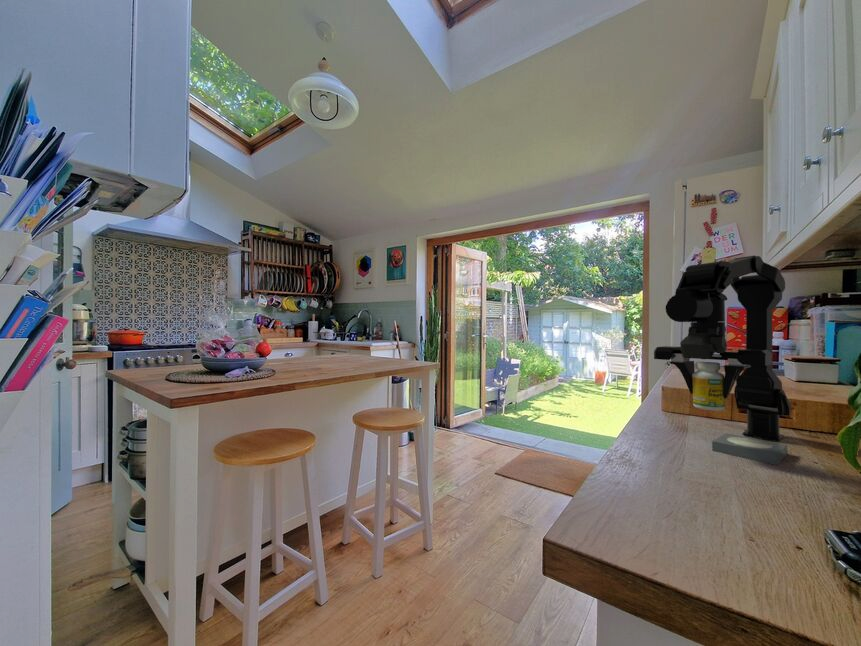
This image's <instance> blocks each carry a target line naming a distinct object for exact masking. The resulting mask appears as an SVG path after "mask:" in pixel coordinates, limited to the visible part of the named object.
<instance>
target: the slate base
mask: <svg viewBox="0 0 861 646" xmlns="http://www.w3.org/2000/svg"><path fill="white" fill-rule="evenodd" d="M711 447H712V449H711V450H712V451H714V452H719V453H723V454H727V455H732V456H735V457H739V458H744V459H748V460H752V461H756V462H757V461H758V462H762V463H765V464H771V465H773V466H774V465H775V466H778V464H780V462H781V461H782V460H783V459H784V458H786V456H787V455H788V444H786V443H780V442H776V441H771V440H766V439H761V438H755V437H750V436H745V435H739V434H733V433H727V432H726V433H724V434H722V435H721V436H718V437H717V438H714V439H713V440H712V441H711Z"/></svg>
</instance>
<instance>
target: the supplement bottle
mask: <svg viewBox="0 0 861 646" xmlns="http://www.w3.org/2000/svg"><path fill="white" fill-rule="evenodd" d="M695 369H696V370H697V371H695V372H694V373H693V375H692V380H693V394H692V404H693V407H695V408H696V409H701V410H706V411H718V412H719V411H724V410H725V409H726V398H724V393H723V389H724V379H725V374H724V373H722V372H719V371H720V370H721V363H720V362H717V361H716V362H714V361H696V362H695Z"/></svg>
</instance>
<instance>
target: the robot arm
mask: <svg viewBox="0 0 861 646" xmlns="http://www.w3.org/2000/svg"><path fill="white" fill-rule="evenodd" d="M749 274H754V275H749ZM740 277H741V278H740ZM785 280H786V279H785V277H784V276H783V275H782V273H781V271H780V269H779V268H777V267H775V266H773V265H771V264H769V263H767V262H764V260H763V259H762V258H761V256H759V255H748V256H741V257H735V258H733V259H731V260H728V261H725V260H719V261H712V262H706V263H699V264H698V263H697V264H692V265H688V266H687V267H685V271H683V274H682V276H681V278H680V280H679V283H678V285H677V288H676V289H675V291H674V294H675V295H674V294H673V296H671V297H670V298H669V299H668V300H667V303H666V305H665V313H666V314H667V317H669V319H671V320H672V321H674V322H676V323H677V322H678V323H690V326H689V327H688V331H687V332H688V334H687V336H685V337H684V338H683V339H682V340H681V341H680V343H679V345H680V346H669V345H668V346H667V345H666V346H664V345H663V346H657V347H656V348H655V349H654V350H653V360H662V361H663V360H664V361H669V360H670V361H669V364H670V365H674V366H676V367H677V369H678V370H679V372H680V373H681V375H682V377H683V378H684V381H685V384H686V386H687V388H688V390H689V393H690V395H693V380H692V375H693V373H694V372H696V371H695V361H694V360H691V359H698V360H714V361H715V360H716V361H717V360H719V361H727V362H728V364H724V365H723V368H724V377H725V379H724V389H723V393H724V398H725V399H728V397H729V396H730V394H731V392H732V390H733V387H734V386H735V387H734V392H733V393H734V398H735V403H736V408H737V409H739V410H746V421H747V422H746V425H747V426H746V430H744V431H743V432H742V434H741V436H745V437H750V438H755V439H761V440H766V441H771V442H781V440H783V439H784V438H785V435H784V434H780V416H782V417H783V416H791V411H792V409H791V407H792V406H791V403H790V401H789V399H788V397H787V395H786V393H785V391H784V389H783V382H782V381H781V379H780V378H779V377H778V376H777V375H776V373H775V372H774V370H773V310H774V309H775V308H776V307H777V306H778V305H779V303H780V302H781V301H782V300H783V292H784V291H785V289H786V281H785ZM729 286H730V287H731V288H732V289H733V291H734V292H735V293H736V295H737V301H738V302H739V303H740V305H742V307H743V308H744V310H745V313H746V315H745V316H746V317H745V328H746V329H745V331H746V332H745V333H746V334H745V335H746V336H745V348H743V349H737V350H738V351H727V348H728V347H727V346H728V345H727V339H726V332H727V327H726V310H725V309H726V307H725V306H726V305H725V304H726V303H725V301H727V300H728V297H727V295H725V294H724V293H723V292H724V291H725V290H726V289H727V288H728V287H729Z"/></svg>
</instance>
